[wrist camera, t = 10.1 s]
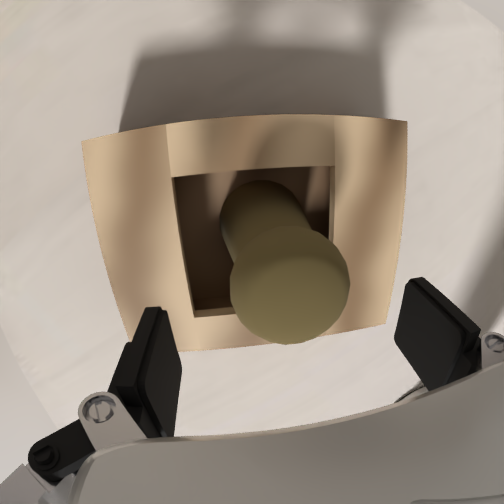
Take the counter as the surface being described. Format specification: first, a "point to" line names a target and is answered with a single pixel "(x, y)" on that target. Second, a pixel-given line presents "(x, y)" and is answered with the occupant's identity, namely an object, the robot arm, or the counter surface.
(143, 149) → the drop box
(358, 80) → the counter surface
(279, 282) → the cork
